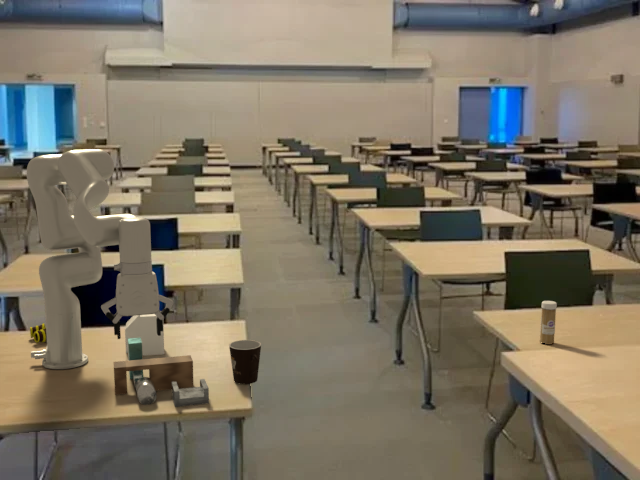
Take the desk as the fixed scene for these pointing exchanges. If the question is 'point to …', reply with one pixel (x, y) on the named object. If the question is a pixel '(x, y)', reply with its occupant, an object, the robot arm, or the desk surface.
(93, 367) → the desk surface
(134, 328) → the corner bracket
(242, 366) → the dark brown paper cup
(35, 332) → the opera glasses
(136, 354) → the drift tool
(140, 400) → the axle
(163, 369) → the wooden panel with opening
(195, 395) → the cradle
